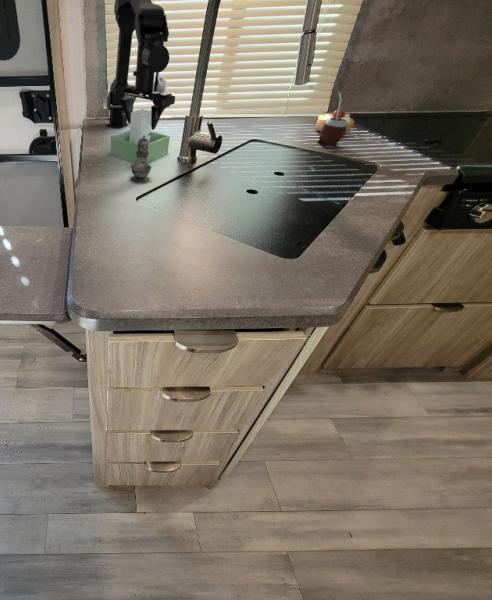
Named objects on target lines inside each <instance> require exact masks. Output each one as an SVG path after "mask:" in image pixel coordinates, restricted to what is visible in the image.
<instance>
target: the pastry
mask: <svg viewBox="0 0 492 600" xmlns="http://www.w3.org/2000/svg"><path fill="white" fill-rule="evenodd" d="M341 106H342V107H341V109H340V111H339V115H338V118H342V119H345V120H346V121H347V128H346V131H345V133H344V134H343V135H346V134H347V133H349V131H350V130H351V129H352V128H353V125H354V124H355V120H354V119H353V118H352V117H350V116H349V115H347V114H346V112H345V111H344V105H341ZM337 111H338V109H335V110H334V111H333V113H331V112H329V113H328V112H327V113H322V114H321V115H319V116H318V118H317V121H316V130H317V131H318V132H320V133H321V130H322V127H323V125H324V124H325V122H326V121H327V120H328V119H330V118H336V116H337Z"/></svg>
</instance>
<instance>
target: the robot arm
mask: <svg viewBox="0 0 492 600" xmlns="http://www.w3.org/2000/svg"><path fill="white" fill-rule="evenodd" d="M113 5H114V7H113V12H114V15H115V18H114V19H115V22H116V24H117V27H118V41H117V52H116V54H117V55H116V66H115V67H116V68H115V78H114V79H113V80H112V82H111V84H110V88H109V92H108V94H107V97H106V109H107V110H108V111H109V120H108V121H109V122H108V123H106V126H107V127H112V128H115V129H122V128H124V127H126V126H129V125H130V122H131V112H134V104H135V102H136V100H137V98H138V99H143V100H148V101H152V104H153V105H151V107H150V109H151V110H150V111H151V131H154V130H155V129H156V127H157V125H158V123H159V120H160V118H161V116H162V114H163V112H164V111H165V110H166V108H170V106H172V105H175V103H176V96H175V92H173V91H172V92H171V91H166V89H167V88H166V87H167V84H168V81H167V80H165V78H162V77H160V73H161V72H163V71H165V69H166V68H167V67H168V65H169V62H170V51H169V50H168V48H167V47H166V46H164V43H167V42H168V40H169V38H168V37H169V35H170V32H169V24H168V19H167V15H166V13H165V9H164V7H162V6H161V5H159V4H156V3H153V1H152V0H114V4H113ZM134 32H135V36H136V40H137V52H136V53H137V56H136V66H135V67H136V68H135V70H134V71H132V72H133V73H132V76H133V77H135V81H134V83H135V84H134V85H133V84H129V80H128V79H129V72H130V63H131V61H130V60H131V54H132V53H131V52H132V43H133V33H134Z"/></svg>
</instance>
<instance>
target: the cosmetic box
mask: <svg viewBox="0 0 492 600" xmlns="http://www.w3.org/2000/svg"><path fill="white" fill-rule="evenodd" d="M129 130H130V138H129V141H131V142H134V143H138V141H139V140H140V139H142V138H143V136H144V135H145V138H146V139H147V140H148V141H149V143H150V134H151V131H152V127H151V110H150V109H143V108H141V109H138V110H133V112H131V122H130V124H129Z"/></svg>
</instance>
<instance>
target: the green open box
mask: <svg viewBox="0 0 492 600" xmlns="http://www.w3.org/2000/svg"><path fill="white" fill-rule="evenodd" d="M129 138H130V129H129V130H127V131H124V132H120V133H118V134H114V135H111V136H110V155H111V156H114V157H117V158H120V159H123V160H126V161H129V162H132V163H134V164H135V163H136V159H137V154H136V152H137V150H138V143H134V142H131V141H129ZM170 138H171V136H170V135H168V134H164V133H159V132H156V131H153V130H151V134H150V143H149V145H148V152H149V154H148V158H147V163H148V164H149V163H151V162H153V161H155V160H157V159H159V158H162V157H164V156H167V155H168V154H169V153H168V152H169V146H170Z"/></svg>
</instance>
